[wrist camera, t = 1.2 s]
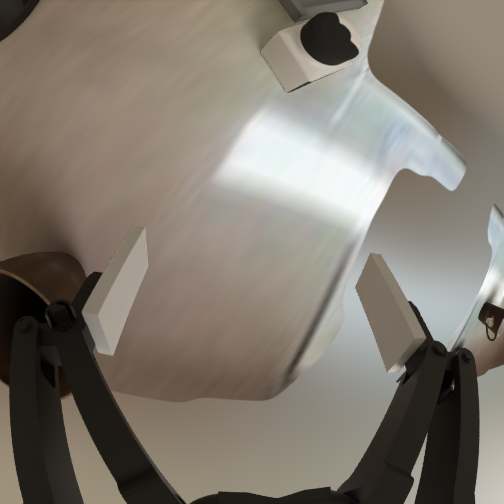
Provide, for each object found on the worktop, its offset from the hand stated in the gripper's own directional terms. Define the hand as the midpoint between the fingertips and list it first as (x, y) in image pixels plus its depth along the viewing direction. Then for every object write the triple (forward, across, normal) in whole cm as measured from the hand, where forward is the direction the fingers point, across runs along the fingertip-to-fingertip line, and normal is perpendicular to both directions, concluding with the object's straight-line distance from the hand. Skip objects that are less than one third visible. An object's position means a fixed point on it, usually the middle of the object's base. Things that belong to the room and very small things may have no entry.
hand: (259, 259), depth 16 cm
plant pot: (+12, -24, -15) cm, 31 cm away
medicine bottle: (+27, +4, +13) cm, 30 cm away
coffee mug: (+29, +81, -34) cm, 93 cm away
